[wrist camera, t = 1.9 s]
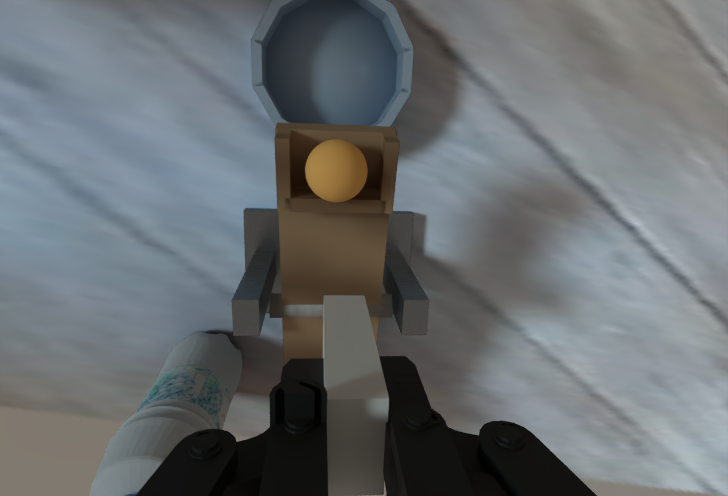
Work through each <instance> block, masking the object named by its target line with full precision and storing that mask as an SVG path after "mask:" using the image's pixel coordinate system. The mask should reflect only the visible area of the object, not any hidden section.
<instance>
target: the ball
mask: <svg viewBox="0 0 728 496" xmlns="http://www.w3.org/2000/svg"><path fill="white" fill-rule="evenodd" d="M367 173H368V169H367V163H366V160H365V157H364V155H363V154H362V152H361V151H360V150H359V149H358V148H357V147H356V146H355V145H354V144H352V143H350V142H348V141H345V140H341V139H331V140H327V141H324V142H322V143H320V144H319V145H317V146H316V147H315V148H314V149H313V150H312V151H311V153H310V155H309V156H308V159H307V162H306V166H305V175H306V179H307V182H308V184H309V186H310V188H311V189H312V191H313V192H314V193H315V194H316V195H317V196H319V197H320V198H322V199H324V200H327V201H330V202H343V201H347V200H349V199H351V198H353V197H355V196H356V195H357V194H358V193H359V192H360V191H361V190H362V188H363V187H364V185H365V182H366V179H367Z"/></svg>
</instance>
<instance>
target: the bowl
mask: <svg viewBox="0 0 728 496" xmlns="http://www.w3.org/2000/svg"><path fill="white" fill-rule="evenodd" d="M251 39H252V40H251V56H252V86H253V88H254V90H255V92H256V93H257V95H258V97H259V99H260V100H261V102H262V104H263V106H264V108H265V109H266V111H267V113H268V115H269V116H270V118H271V120H272V122H273V123H274V125H275V126H276V125H277V122H282V123H308V124H335V125H362V126H388V127H390V126H391V124H392V123H393V121H394V120H395V118H396V116H397V115H398V113H399V111H400V110H401V108H402V107H403V105H404V103H405V102H406V100H407V99H408V97H409V95H410V94H411V83H412V67H413V51H414V48H413V46H412V43H411V41H410V39H409V37H408V35H407V32H406V30H405V28H404V26H403V23H402V21H401V19H400V17H399V15H398V12H397V10H396V8H395V6H394V5H393V4H391V3H390V2H388V1H387V0H272V1H271V3H270V5H269V7H268V8H267V10H266V12H265V14H264V16H263V18H262V20H261V22H260V23H259V25H258V27H257V29H256V31H255V33H254V35H253V37H252V38H251Z"/></svg>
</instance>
